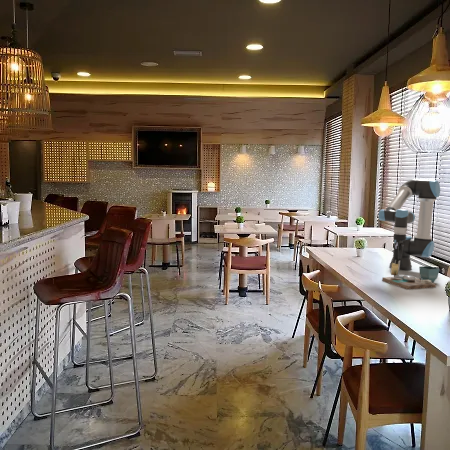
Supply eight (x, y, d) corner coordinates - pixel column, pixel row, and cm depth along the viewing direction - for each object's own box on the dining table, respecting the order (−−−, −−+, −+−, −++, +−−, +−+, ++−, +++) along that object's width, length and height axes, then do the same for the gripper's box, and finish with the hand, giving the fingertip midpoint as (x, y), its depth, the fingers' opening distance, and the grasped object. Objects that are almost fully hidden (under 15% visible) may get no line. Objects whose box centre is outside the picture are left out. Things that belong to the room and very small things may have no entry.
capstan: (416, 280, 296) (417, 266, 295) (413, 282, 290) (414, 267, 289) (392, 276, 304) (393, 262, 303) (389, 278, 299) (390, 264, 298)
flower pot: (417, 279, 308) (418, 266, 307) (428, 279, 311) (429, 265, 310) (427, 283, 300) (429, 269, 299) (438, 282, 303) (439, 268, 302)
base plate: (409, 278, 310) (409, 273, 309) (435, 287, 289) (436, 281, 289) (382, 280, 301) (382, 275, 301) (407, 289, 281) (408, 283, 281)
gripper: (403, 235, 293) (399, 272, 296) (409, 233, 303) (405, 269, 306) (390, 233, 297) (387, 270, 300) (397, 232, 307) (394, 267, 310)
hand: (396, 270), depth 303 cm, fingers closed
